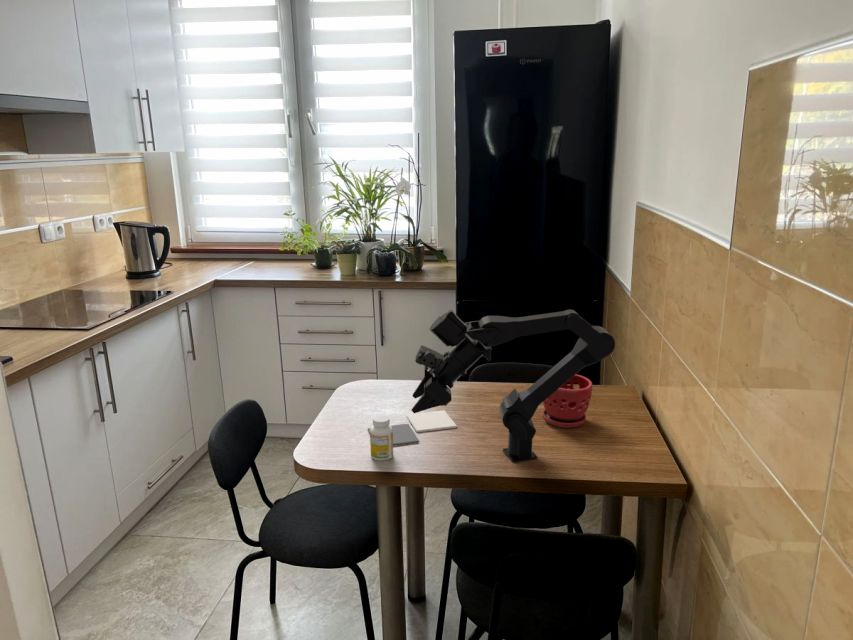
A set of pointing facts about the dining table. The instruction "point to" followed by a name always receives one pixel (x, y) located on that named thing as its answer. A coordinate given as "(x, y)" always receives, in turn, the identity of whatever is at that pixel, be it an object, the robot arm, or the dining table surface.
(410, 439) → the slate coaster
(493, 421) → the dining table surface
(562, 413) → the plant pot
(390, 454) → the supplement bottle
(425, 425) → the offwhite coaster
